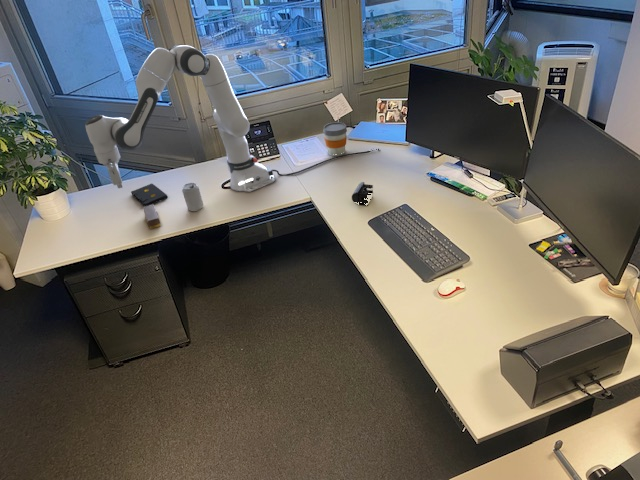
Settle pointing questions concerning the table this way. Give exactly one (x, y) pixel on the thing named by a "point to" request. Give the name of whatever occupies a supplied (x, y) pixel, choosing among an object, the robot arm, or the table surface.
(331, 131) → the reusable coffee cup
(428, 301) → the table surface
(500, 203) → the table surface
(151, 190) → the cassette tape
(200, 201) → the can
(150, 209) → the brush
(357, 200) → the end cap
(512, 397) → the table surface
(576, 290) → the table surface
